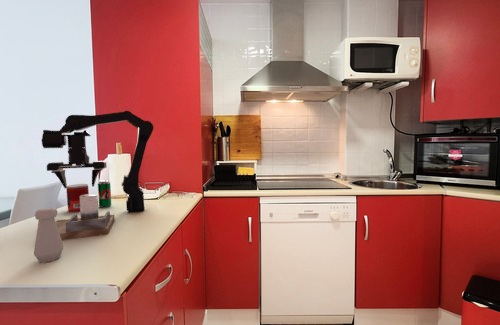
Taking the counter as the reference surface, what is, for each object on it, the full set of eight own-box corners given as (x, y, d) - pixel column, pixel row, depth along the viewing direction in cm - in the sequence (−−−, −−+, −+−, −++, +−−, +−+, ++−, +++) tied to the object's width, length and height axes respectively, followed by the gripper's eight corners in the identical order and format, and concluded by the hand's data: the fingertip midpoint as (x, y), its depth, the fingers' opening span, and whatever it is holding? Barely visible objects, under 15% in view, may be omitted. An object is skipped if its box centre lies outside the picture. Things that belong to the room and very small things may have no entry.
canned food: (93, 208, 113) (92, 184, 113) (76, 212, 106) (74, 187, 105) (81, 206, 116) (79, 183, 115) (63, 211, 108) (62, 186, 107)
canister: (100, 221, 86) (98, 193, 86) (97, 226, 82) (96, 196, 81) (83, 223, 85) (81, 194, 84) (79, 228, 80) (77, 197, 79)
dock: (114, 220, 95) (114, 207, 94) (108, 234, 80) (107, 219, 80) (57, 226, 88) (56, 212, 88) (38, 242, 73) (37, 226, 73)
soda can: (113, 205, 119) (112, 180, 118) (106, 207, 114) (105, 181, 113) (103, 204, 119) (102, 180, 118) (96, 207, 114) (95, 181, 113)
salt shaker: (46, 254, 66) (42, 205, 65) (69, 253, 66) (66, 205, 65) (28, 265, 60) (24, 212, 59) (53, 263, 60) (50, 211, 59)
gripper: (107, 147, 108) (109, 182, 109) (55, 148, 101) (58, 185, 102) (103, 147, 98) (105, 186, 99) (44, 148, 91) (47, 190, 92)
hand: (79, 187), depth 98 cm, fingers open, 9 cm apart
